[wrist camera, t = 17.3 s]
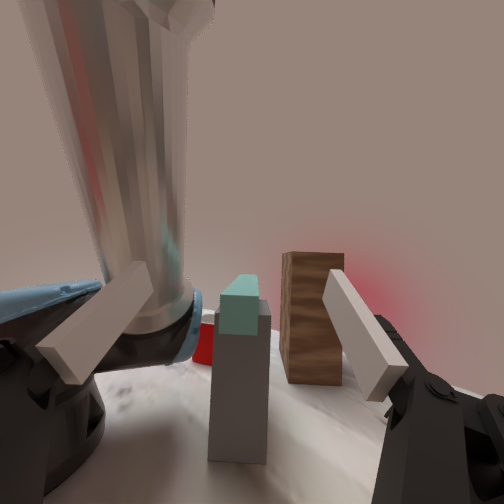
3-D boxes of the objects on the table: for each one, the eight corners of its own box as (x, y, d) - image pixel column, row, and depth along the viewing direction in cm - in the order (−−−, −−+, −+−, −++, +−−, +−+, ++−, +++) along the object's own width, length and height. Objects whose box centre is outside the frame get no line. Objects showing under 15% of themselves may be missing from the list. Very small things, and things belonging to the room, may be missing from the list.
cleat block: (266, 464, 25) (271, 315, 26) (207, 460, 25) (214, 312, 26) (262, 405, 35) (266, 299, 36) (221, 403, 35) (225, 298, 36)
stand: (341, 385, 42) (344, 253, 43) (288, 383, 42) (292, 251, 43) (317, 350, 58) (320, 255, 59) (279, 348, 58) (282, 253, 59)
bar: (257, 335, 19) (258, 296, 19) (218, 333, 19) (220, 294, 19) (256, 291, 45) (256, 274, 45) (239, 290, 45) (240, 274, 45)
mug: (216, 367, 47) (218, 325, 47) (188, 361, 49) (190, 321, 49) (233, 346, 58) (235, 312, 59) (210, 342, 61) (211, 309, 61)
